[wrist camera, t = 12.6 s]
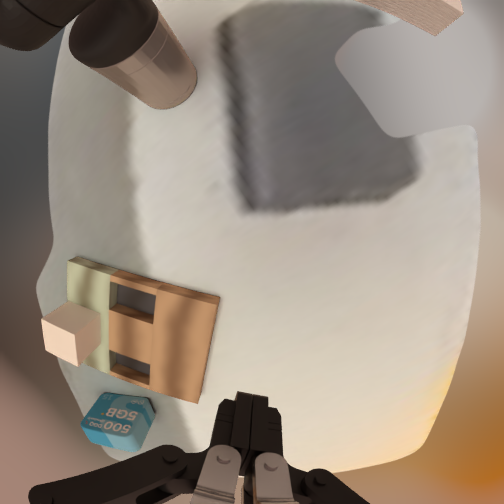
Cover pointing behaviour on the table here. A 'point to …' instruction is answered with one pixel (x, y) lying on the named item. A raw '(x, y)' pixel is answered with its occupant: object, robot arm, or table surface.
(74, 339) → the block
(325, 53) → the table surface
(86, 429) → the data package
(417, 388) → the table surface
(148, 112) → the table surface
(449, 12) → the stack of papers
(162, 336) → the board
